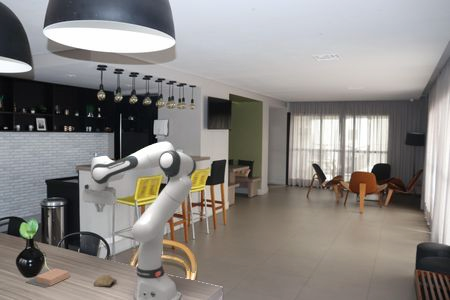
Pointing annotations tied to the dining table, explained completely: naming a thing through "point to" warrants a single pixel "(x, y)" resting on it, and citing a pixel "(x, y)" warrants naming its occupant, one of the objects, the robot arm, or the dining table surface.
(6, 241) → the dining table surface
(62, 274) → the tile
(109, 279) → the pottery shard
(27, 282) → the mat
